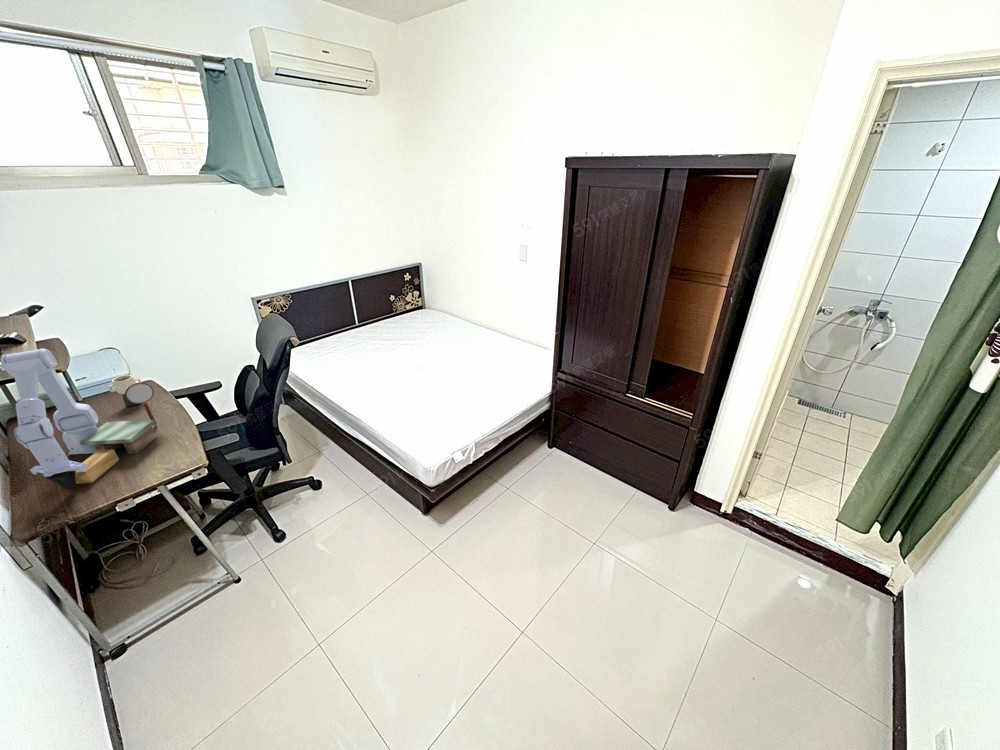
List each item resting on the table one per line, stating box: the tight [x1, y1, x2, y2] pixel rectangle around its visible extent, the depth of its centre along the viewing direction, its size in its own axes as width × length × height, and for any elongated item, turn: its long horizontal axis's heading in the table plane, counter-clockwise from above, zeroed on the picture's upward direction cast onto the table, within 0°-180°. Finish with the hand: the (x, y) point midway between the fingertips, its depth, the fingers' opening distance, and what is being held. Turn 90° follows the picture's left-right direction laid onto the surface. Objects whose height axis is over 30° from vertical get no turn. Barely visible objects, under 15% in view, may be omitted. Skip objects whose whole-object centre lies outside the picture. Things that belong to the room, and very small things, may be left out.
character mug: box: [107, 374, 143, 407], centre depth 176 cm, size 11×7×13 cm, turn 134°
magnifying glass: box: [125, 382, 157, 427], centre depth 159 cm, size 9×2×20 cm, turn 145°
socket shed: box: [79, 419, 157, 455], centre depth 149 cm, size 17×12×8 cm
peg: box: [75, 449, 120, 485], centre depth 138 cm, size 5×12×5 cm, turn 5°
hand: (72, 488), depth 129 cm, fingers closed
